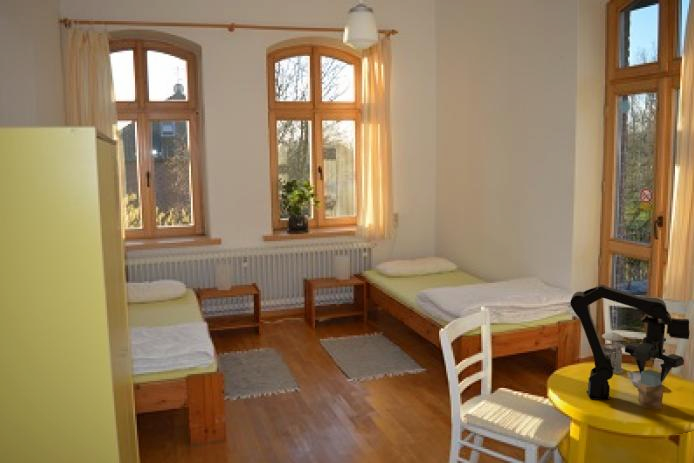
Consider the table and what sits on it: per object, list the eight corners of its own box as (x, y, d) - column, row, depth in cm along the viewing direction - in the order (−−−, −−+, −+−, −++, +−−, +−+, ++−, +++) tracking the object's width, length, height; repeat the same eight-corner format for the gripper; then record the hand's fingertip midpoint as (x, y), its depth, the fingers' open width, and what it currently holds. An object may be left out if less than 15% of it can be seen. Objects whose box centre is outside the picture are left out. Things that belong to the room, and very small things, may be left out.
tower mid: (645, 397, 218) (646, 386, 217) (637, 390, 223) (638, 380, 223) (662, 397, 218) (663, 386, 217) (654, 390, 223) (655, 380, 223)
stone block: (638, 395, 234) (665, 389, 233) (636, 383, 233) (663, 377, 233) (625, 383, 245) (650, 378, 245) (623, 371, 245) (648, 367, 244)
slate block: (640, 382, 221) (641, 371, 220) (648, 379, 223) (649, 368, 223) (653, 387, 216) (654, 376, 216) (661, 384, 219) (662, 373, 218)
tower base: (643, 408, 219) (644, 397, 218) (638, 400, 224) (638, 390, 224) (661, 409, 218) (662, 398, 217) (655, 401, 224) (656, 391, 223)
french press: (617, 364, 259) (621, 306, 255) (630, 375, 247) (634, 314, 243) (593, 364, 259) (597, 306, 255) (605, 375, 247) (609, 314, 243)
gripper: (616, 332, 220) (613, 374, 223) (668, 347, 205) (664, 392, 207) (635, 326, 226) (632, 367, 229) (686, 341, 211) (682, 384, 213)
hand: (651, 377), depth 219 cm, fingers open, 7 cm apart
